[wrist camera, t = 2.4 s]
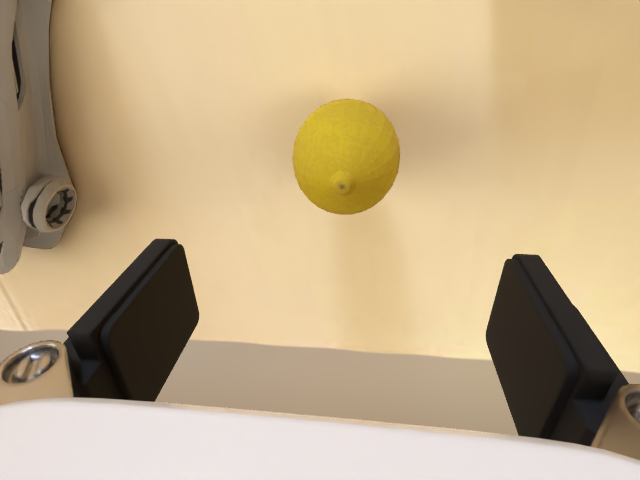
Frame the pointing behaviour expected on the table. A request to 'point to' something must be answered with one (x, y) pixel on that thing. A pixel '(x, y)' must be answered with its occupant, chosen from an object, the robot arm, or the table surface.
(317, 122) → the lemon
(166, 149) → the table surface
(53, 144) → the car model
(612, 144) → the table surface
